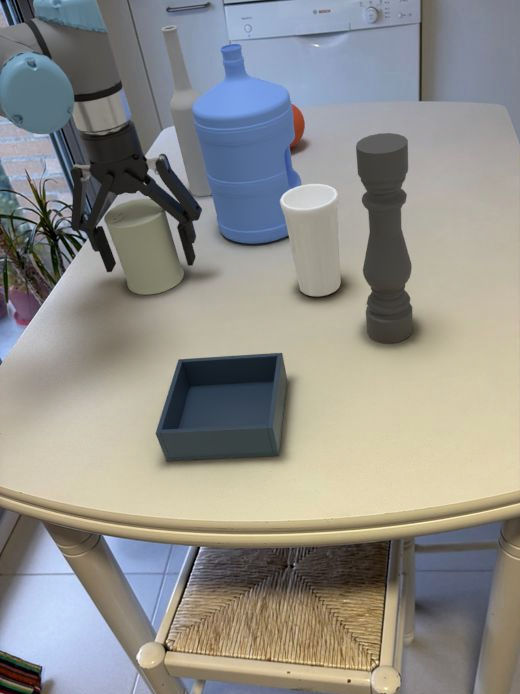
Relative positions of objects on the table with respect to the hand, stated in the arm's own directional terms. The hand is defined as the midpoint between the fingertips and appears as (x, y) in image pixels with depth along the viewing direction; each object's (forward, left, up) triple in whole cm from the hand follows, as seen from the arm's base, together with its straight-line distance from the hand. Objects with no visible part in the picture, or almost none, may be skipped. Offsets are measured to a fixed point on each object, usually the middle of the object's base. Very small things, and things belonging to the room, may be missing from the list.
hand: (151, 264), depth 103 cm
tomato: (+17, +50, -3) cm, 53 cm away
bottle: (+3, +33, -3) cm, 33 cm away
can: (0, 0, -3) cm, 3 cm away
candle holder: (+37, -18, -3) cm, 41 cm away
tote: (+17, -34, -3) cm, 38 cm away
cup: (+27, -6, -3) cm, 28 cm away
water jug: (+16, +16, -3) cm, 23 cm away
